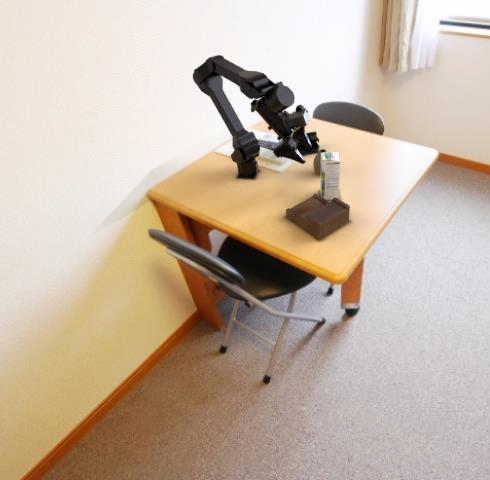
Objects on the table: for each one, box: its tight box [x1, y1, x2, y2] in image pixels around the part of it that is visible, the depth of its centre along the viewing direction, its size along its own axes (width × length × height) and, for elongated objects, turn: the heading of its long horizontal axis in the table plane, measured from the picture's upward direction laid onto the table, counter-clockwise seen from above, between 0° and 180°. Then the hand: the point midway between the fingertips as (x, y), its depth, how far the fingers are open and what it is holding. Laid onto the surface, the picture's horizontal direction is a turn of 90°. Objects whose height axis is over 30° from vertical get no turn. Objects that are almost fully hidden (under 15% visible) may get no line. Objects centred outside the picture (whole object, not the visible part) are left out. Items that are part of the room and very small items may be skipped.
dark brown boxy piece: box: [285, 192, 351, 241], centre depth 106 cm, size 15×12×6 cm
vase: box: [312, 148, 328, 176], centre depth 125 cm, size 7×7×9 cm
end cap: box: [292, 131, 320, 157], centre depth 139 cm, size 10×7×7 cm
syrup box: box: [319, 151, 341, 201], centre depth 113 cm, size 6×6×14 cm
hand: (307, 155), depth 111 cm, fingers open, 9 cm apart
